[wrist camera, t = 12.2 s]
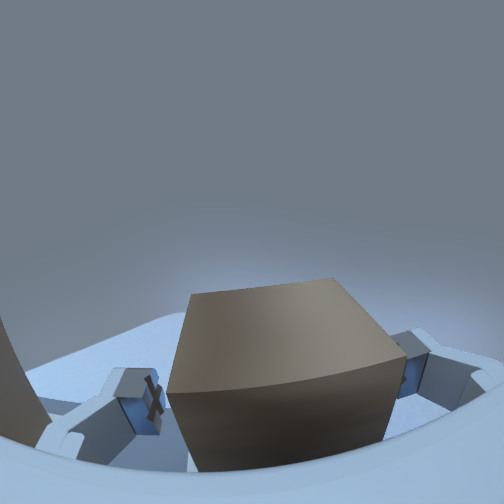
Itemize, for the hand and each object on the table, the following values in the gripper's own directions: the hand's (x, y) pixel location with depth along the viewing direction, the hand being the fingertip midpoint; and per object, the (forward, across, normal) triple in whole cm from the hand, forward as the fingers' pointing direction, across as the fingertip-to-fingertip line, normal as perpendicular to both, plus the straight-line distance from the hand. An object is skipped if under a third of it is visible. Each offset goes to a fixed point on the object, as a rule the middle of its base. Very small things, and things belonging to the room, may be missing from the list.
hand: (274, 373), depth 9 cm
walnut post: (-1, 0, +8) cm, 8 cm away
